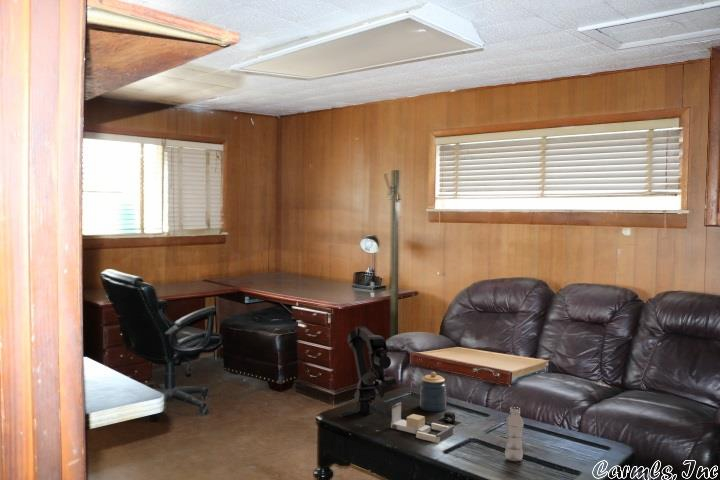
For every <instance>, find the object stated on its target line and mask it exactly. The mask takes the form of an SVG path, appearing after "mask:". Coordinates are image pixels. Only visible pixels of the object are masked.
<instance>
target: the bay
mask: <svg viewBox="0 0 720 480" xmlns="http://www.w3.org/2000/svg"><path fill="white" fill-rule="evenodd" d="M430 424H431V430H434V431H438V433H437V434H430V433H423V432H419V431H417V432H416V434H415V438H417V439H420V440H425V441H428V442H433V443H436V444H439V443H441V442H442V441H444V440H445V439H447V438H449V437H451V436H453V435H454V434H455V425H450V426H448V425H443V424H439V423H435V422H431V423H430Z"/></svg>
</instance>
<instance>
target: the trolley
mask: <svg viewBox="0 0 720 480" xmlns="http://www.w3.org/2000/svg"><path fill="white" fill-rule="evenodd" d="M402 404H403V403H402V402H401V401H400V402H398V403H394V404H393V405H391V423H390V428H391V429H393V430H399V431H403V432H407V433H410V434H415V435H416V432H417V431H419V432H423V433H427V434H429V433H430V432H432V429H431V426H430V425H429V424H426V416H423V415H420V414H415V413H412V414H410V415H408V416H406V419H404V418H403V419H402Z"/></svg>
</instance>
